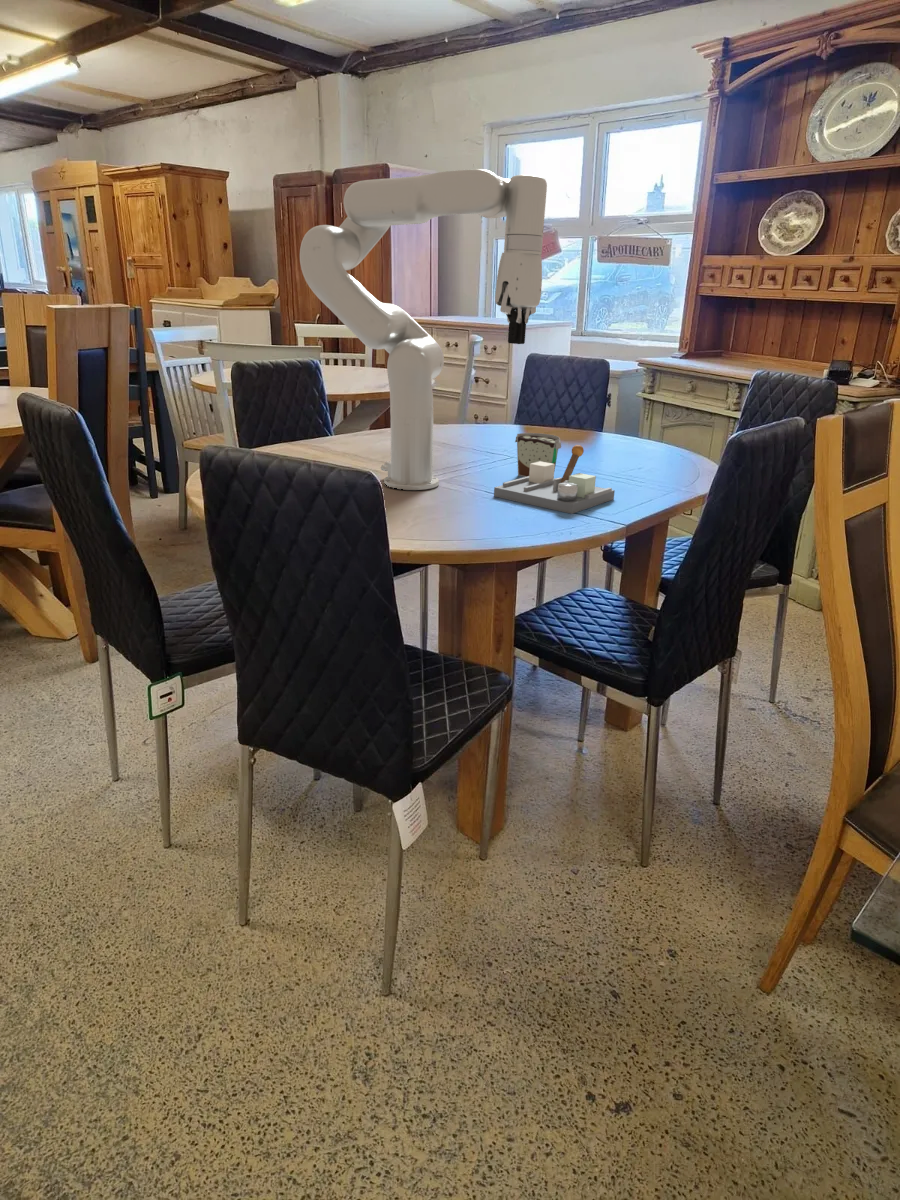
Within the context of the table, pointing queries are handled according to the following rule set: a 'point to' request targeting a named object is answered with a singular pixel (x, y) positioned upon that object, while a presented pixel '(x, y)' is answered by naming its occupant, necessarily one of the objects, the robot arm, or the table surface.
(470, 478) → the table surface
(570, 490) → the button
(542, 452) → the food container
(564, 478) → the lever
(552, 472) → the block
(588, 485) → the slider green
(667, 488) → the table surface
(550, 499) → the panel
